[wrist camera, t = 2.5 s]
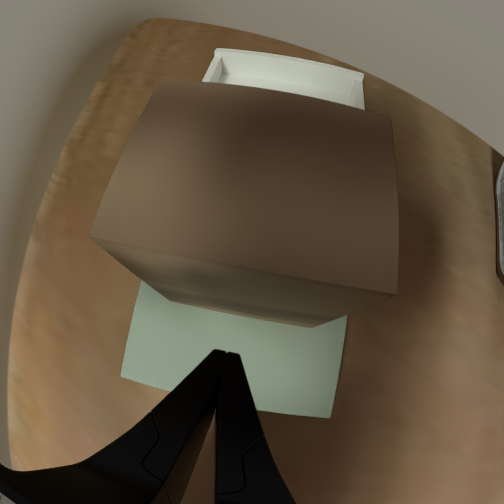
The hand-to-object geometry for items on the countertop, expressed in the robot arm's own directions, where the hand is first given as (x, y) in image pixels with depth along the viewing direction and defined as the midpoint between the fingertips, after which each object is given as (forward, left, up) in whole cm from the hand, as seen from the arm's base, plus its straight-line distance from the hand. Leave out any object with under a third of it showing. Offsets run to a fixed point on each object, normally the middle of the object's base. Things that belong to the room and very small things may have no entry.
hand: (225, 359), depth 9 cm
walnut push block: (+4, -4, -7) cm, 9 cm away
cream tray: (+14, -14, -9) cm, 21 cm away
